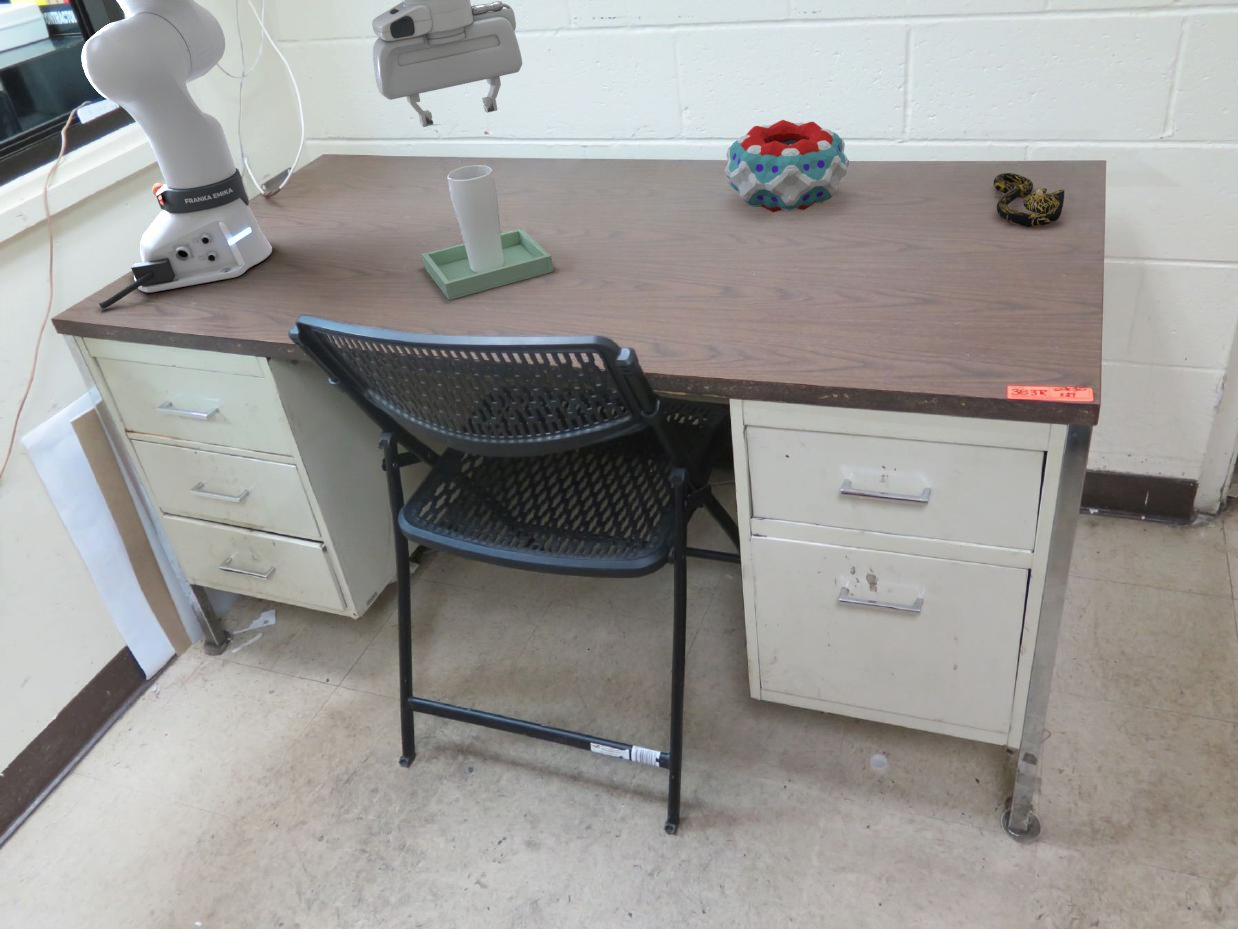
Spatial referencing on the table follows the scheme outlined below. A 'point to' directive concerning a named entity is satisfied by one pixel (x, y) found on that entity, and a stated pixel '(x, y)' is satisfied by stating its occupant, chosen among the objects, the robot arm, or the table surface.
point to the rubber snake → (1027, 201)
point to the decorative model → (786, 165)
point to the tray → (460, 280)
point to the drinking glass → (477, 215)
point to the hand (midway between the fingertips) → (459, 117)
